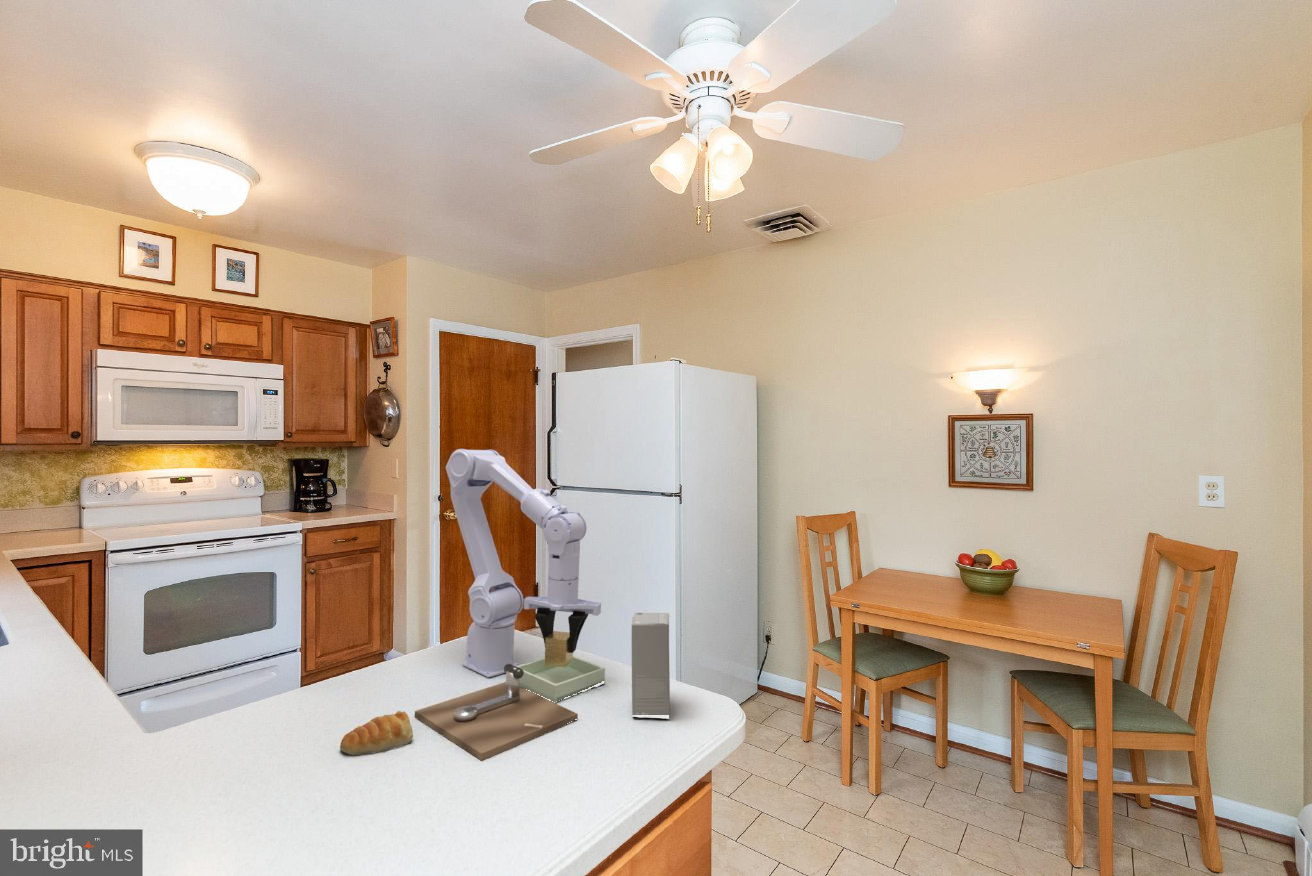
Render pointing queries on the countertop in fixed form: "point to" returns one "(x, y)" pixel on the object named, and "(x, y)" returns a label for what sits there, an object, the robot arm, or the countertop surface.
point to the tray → (560, 678)
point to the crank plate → (495, 721)
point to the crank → (511, 695)
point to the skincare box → (650, 664)
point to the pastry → (379, 735)
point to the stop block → (557, 649)
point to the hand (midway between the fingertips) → (560, 650)
